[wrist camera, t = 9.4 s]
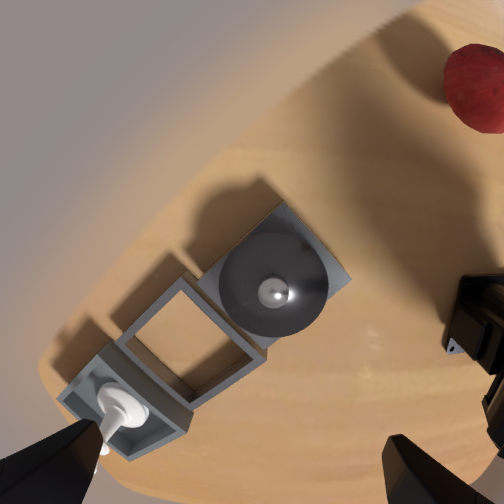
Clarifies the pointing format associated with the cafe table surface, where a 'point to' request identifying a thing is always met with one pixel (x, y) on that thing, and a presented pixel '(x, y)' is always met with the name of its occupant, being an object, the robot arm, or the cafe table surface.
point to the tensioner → (249, 299)
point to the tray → (142, 388)
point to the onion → (476, 87)
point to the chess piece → (118, 411)
